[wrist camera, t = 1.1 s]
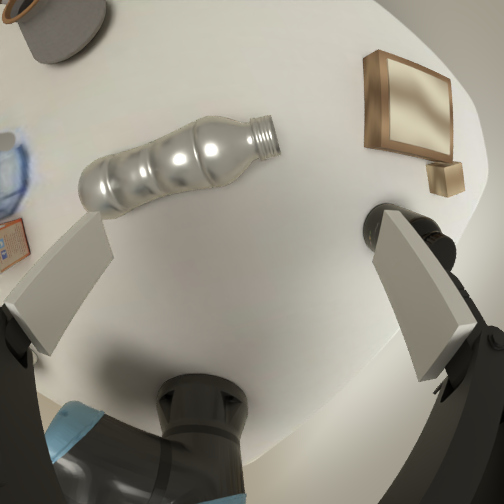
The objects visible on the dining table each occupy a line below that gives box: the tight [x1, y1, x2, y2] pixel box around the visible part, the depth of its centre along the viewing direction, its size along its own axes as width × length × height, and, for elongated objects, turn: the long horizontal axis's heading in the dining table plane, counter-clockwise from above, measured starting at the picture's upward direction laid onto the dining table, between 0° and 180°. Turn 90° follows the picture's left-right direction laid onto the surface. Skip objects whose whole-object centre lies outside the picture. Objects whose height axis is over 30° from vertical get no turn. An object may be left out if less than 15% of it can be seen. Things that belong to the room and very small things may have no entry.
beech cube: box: [426, 161, 465, 198], centre depth 29 cm, size 4×4×4 cm
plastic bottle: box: [78, 115, 281, 220], centre depth 23 cm, size 6×7×20 cm
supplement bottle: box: [364, 204, 456, 271], centre depth 27 cm, size 7×7×12 cm
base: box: [363, 50, 453, 164], centre depth 25 cm, size 12×12×4 cm
